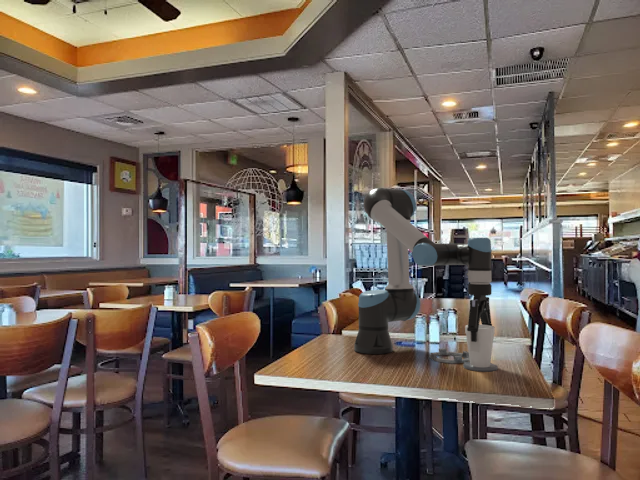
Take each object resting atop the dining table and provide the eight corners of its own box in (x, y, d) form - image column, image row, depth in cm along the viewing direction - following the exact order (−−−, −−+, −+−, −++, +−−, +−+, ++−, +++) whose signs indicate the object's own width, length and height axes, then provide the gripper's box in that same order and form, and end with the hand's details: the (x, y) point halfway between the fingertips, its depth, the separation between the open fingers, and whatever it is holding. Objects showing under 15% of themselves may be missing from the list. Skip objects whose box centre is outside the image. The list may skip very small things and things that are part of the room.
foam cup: (467, 367, 161) (466, 328, 161) (464, 361, 170) (463, 324, 170) (497, 369, 159) (496, 329, 159) (492, 362, 168) (492, 324, 168)
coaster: (458, 368, 163) (458, 366, 163) (469, 362, 172) (469, 359, 172) (492, 373, 157) (492, 370, 157) (501, 366, 166) (501, 364, 166)
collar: (424, 359, 176) (424, 353, 176) (439, 352, 187) (438, 347, 187) (462, 365, 168) (462, 358, 168) (474, 357, 179) (474, 351, 179)
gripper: (479, 280, 177) (479, 341, 176) (457, 284, 157) (457, 353, 157) (500, 281, 172) (500, 343, 172) (480, 285, 153) (480, 356, 153)
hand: (480, 348), depth 165 cm, fingers open, 11 cm apart
